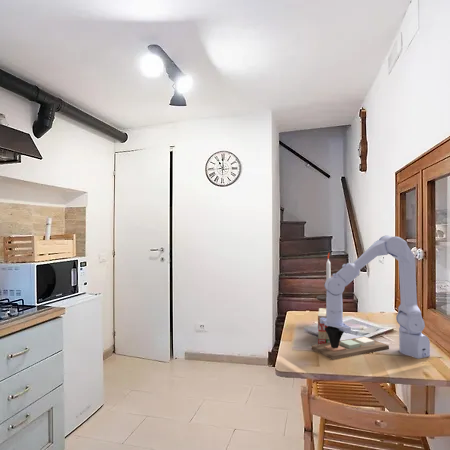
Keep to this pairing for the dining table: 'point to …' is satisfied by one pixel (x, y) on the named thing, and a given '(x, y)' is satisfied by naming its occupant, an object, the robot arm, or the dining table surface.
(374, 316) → the dining table surface
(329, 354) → the tap panel
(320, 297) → the candlestick
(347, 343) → the sage tile
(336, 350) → the terracotta tile
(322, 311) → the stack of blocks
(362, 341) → the cream tile
